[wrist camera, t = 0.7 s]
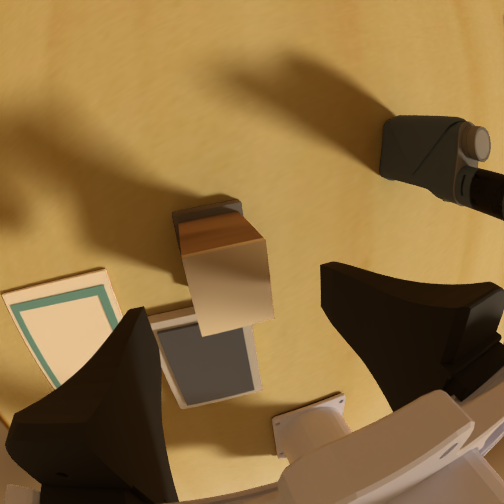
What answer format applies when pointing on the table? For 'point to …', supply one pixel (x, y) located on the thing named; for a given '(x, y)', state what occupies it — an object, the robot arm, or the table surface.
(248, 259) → the stamp
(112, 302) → the print sheet
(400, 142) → the vaping device
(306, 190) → the table surface
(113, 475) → the robot arm
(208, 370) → the ink pad
